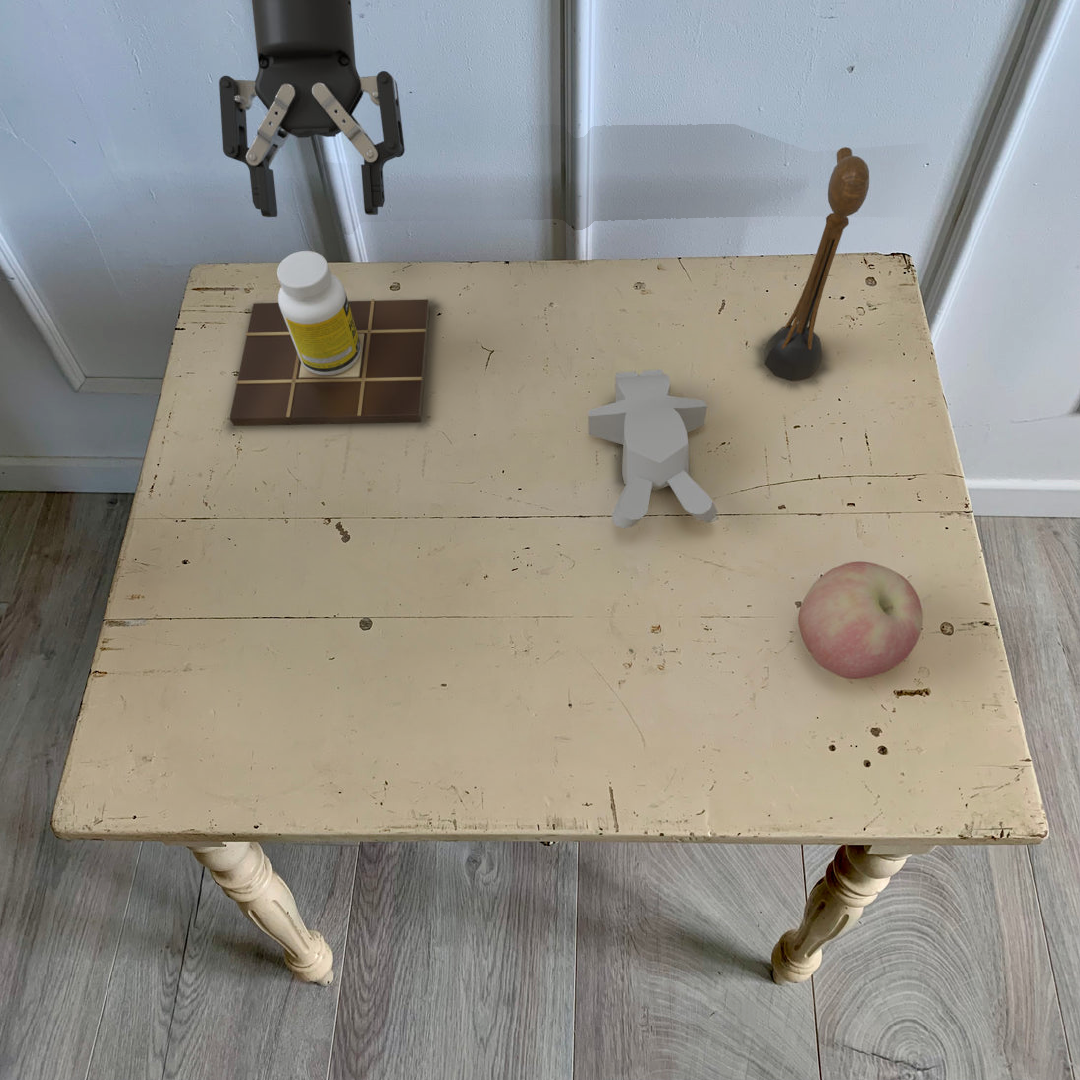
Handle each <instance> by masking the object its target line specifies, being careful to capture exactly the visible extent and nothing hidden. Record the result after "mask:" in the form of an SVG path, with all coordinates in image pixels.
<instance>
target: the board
mask: <svg viewBox="0 0 1080 1080" xmlns="http://www.w3.org/2000/svg"><path fill="white" fill-rule="evenodd" d="M348 303H349V306H350V310H351V313H352V316H353V320H354V323H355V326H356V330H357V333H358V336H359V340H360V344H361V352H360V355H359V358H358V360H357V361H356V362H355V364H354V365H353V366H351V367H350V368H349V369H347V370H345V371H344V372H341V373H339V374H335V375H318V374H315V373H313V372H311V371H309V370H307V369H306V368H305V367H304V366H303V364H302V363H301V361H300V358H299V356H298V353H297V351H296V348H295V346H294V343H293V340H292V338H291V335H290V333H289V330H288V327H287V325H286V322H285V320H284V317H283V315H282V312H281V310H280V307H279V303H278V302H254V303H253V304H252V307H251V308H252V309H251V313H250V317H249V323H248V327H247V332H246V333H245V342H244V347H243V352H242V356H241V360H240V361H241V362H240V366H239V372H238V376H237V380H236V381H235V384H236V386H235V391H234V396H233V400H232V405H231V410H230V414H229V420H230V422H231V424H232V425H233V426H269V425H270V426H272V425H273V426H274V425H277V426H278V425H321V424H323V425H325V424H327V425H329V424H374V423H377V424H378V423H380V424H381V423H382V424H383V423H420V422H421V420H422V408H423V396H424V395H423V393H424V383H425V372H426V371H425V369H426V358H427V357H426V355H427V346H428V333H429V331H428V330H429V318H430V309H431V308H430V301H429V299H428V298H427V299H426V298H425V299H387V300H386V299H385V300H383V299H381V300H375V299H374V298H373V299H371V300H348Z"/></svg>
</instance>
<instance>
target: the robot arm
mask: <svg viewBox="0 0 1080 1080" xmlns="http://www.w3.org/2000/svg"><path fill="white" fill-rule="evenodd" d="M251 7H252V15H253V26H254V35H255V45H256V54H257V55H256V56H257V62H258V72H257V74H256V75H257V76H256V78H255V80H247V79H234V78H233V77H231V76H230V75H222V76H221V77H220V78H219V80H218V90H219V91H218V92H219V104H220V105H219V106H220V107H219V108H220V121H221V123H220V124H221V139H222V151H223V154H224V155H225V156H226V157H227V158H229V159H231V160H232V159H233V160H235V161H238V162H241V163H243V164H245V165H246V166H247V168H248V171H249V179H250V188H251V196H252V197H251V198H252V199H251V200H252V203H253V205H254V208H255V209H257V210H260V214H261V215H262V217H265V218H277V217H278V207H277V206H278V205H277V195H276V185H275V175H274V169H272V168H270V165H271V164H272V162H273V161H274V159H275V157H276V155H277V154H278V152H279V150H280V149H281V148H282V147H284V145H285V144H286V142H287V141H288V139H289V137H290V135H291V136H294V137H296V138H298V139H300V138H301V139H302V138H303V139H305V138H310V137H313V136H316V135H317V136H321V137H326V138H333V137H337V135H339V134H340V133H341V132H342V133H343V135H344V136H345V137H346V138H347V140H348V141H349V142H350V143H351V144H352V145H353V147H354V148H355V150H357V152H358V153H359V154H360V155H361V156H362V158H363V164H360V168H361V183H362V195H363V198H362V199H363V208H364V213H365V215H368V216H378V214H379V208H383V207H384V204H385V201H386V199H385V198H386V197H385V183H384V166H385V164H386V163H387V162H388V161H391V160H393V159H395V158H401V157H402V156H403V155H404V154H405V151H406V148H405V140H404V133H403V123H402V115H401V105H400V98H399V88H398V83H397V81H396V79H395V78H394V76H393V75H392V74H390V73H389V72H388V71H385V70H381V71H380V72H378V73H377V75H370V76H360V75H359V73H358V69H357V65H356V53H355V50H356V49H355V40H354V39H355V38H354V37H355V36H354V26H353V25H354V24H353V13H352V12H353V11H352V0H251ZM364 93H367V94H368V95H369V98H370V100H371V102H372V103H373V104H374V105H375V106H376V107H379V112H380V120H381V128H382V136H383V137H382V138H383V140H382V141H381V142H378V143H374V141H373V140H372V138H371V137H370V136H369V134H368V133H367V131H365V129H364V127H363V126H362V125H361V124H360V123H359V122H358V120H357V118H355V116H354V114H353V113H354V112H355V110H356V108H357V107H358V105H359V103H360V101H361V99H362V98H363V95H364ZM256 97H258V99H259V100H260V101H261V103H262V104H263V105H264V107H265V108H266V109H267V110H268V111H267V112H266V114H265V116H264V117H263V119H262V121H261V123H260V125H259V127H258V128H257V134H256V136H255V138H254V139H253V142H252V143H251V145H250V147H248V146H249V145H248V143H249V142H248V127H247V125H248V124H247V111H249V110H250V109H251V108H252V107H253V101H254V98H256Z"/></svg>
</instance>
